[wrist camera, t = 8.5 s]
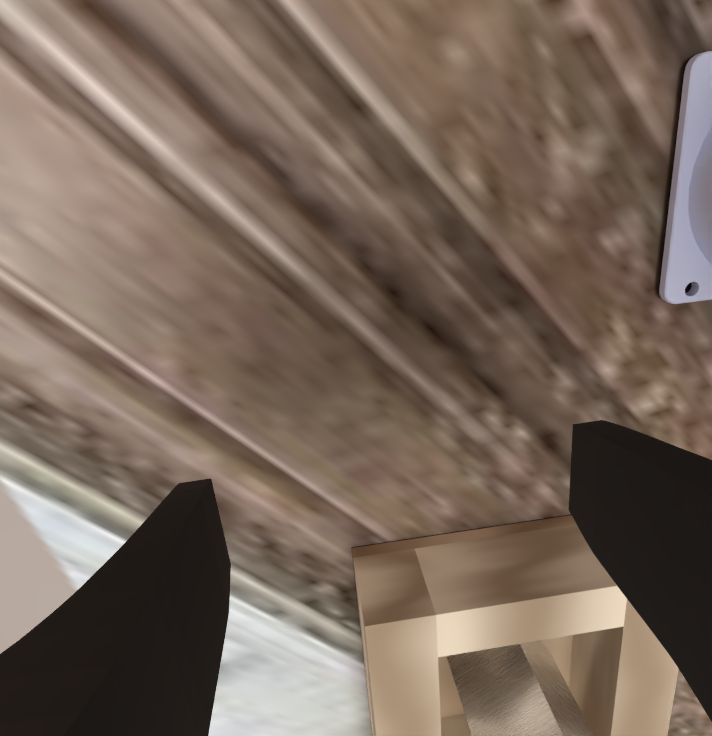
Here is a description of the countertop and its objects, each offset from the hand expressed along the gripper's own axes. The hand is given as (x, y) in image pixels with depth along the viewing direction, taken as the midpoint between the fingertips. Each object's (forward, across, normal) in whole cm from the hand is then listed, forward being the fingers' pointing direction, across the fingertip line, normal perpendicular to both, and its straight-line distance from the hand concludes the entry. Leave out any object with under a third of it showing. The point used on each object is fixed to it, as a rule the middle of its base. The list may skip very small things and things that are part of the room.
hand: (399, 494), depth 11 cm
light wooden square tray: (+10, -5, +15) cm, 18 cm away
